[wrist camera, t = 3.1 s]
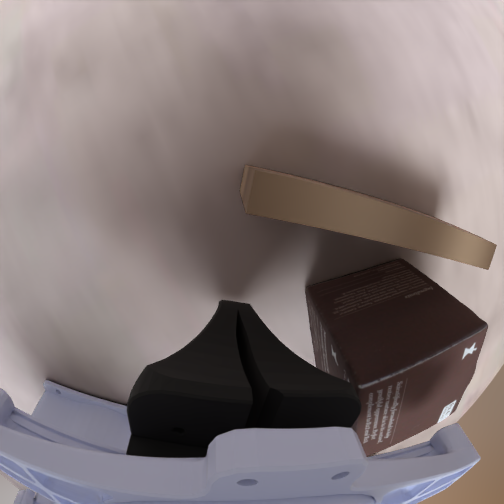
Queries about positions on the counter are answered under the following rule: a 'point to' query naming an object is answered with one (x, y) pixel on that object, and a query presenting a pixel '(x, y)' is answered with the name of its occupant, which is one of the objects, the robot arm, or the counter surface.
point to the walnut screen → (358, 216)
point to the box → (395, 348)
